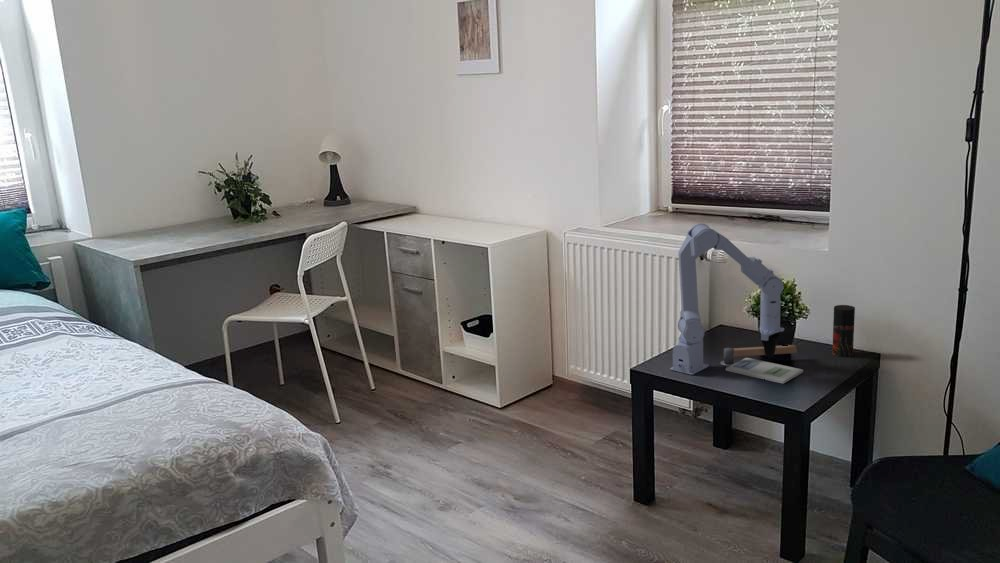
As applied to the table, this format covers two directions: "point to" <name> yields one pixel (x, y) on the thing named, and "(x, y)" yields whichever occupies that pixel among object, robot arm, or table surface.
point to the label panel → (763, 370)
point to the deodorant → (843, 330)
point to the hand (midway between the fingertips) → (769, 356)
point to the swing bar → (754, 352)
